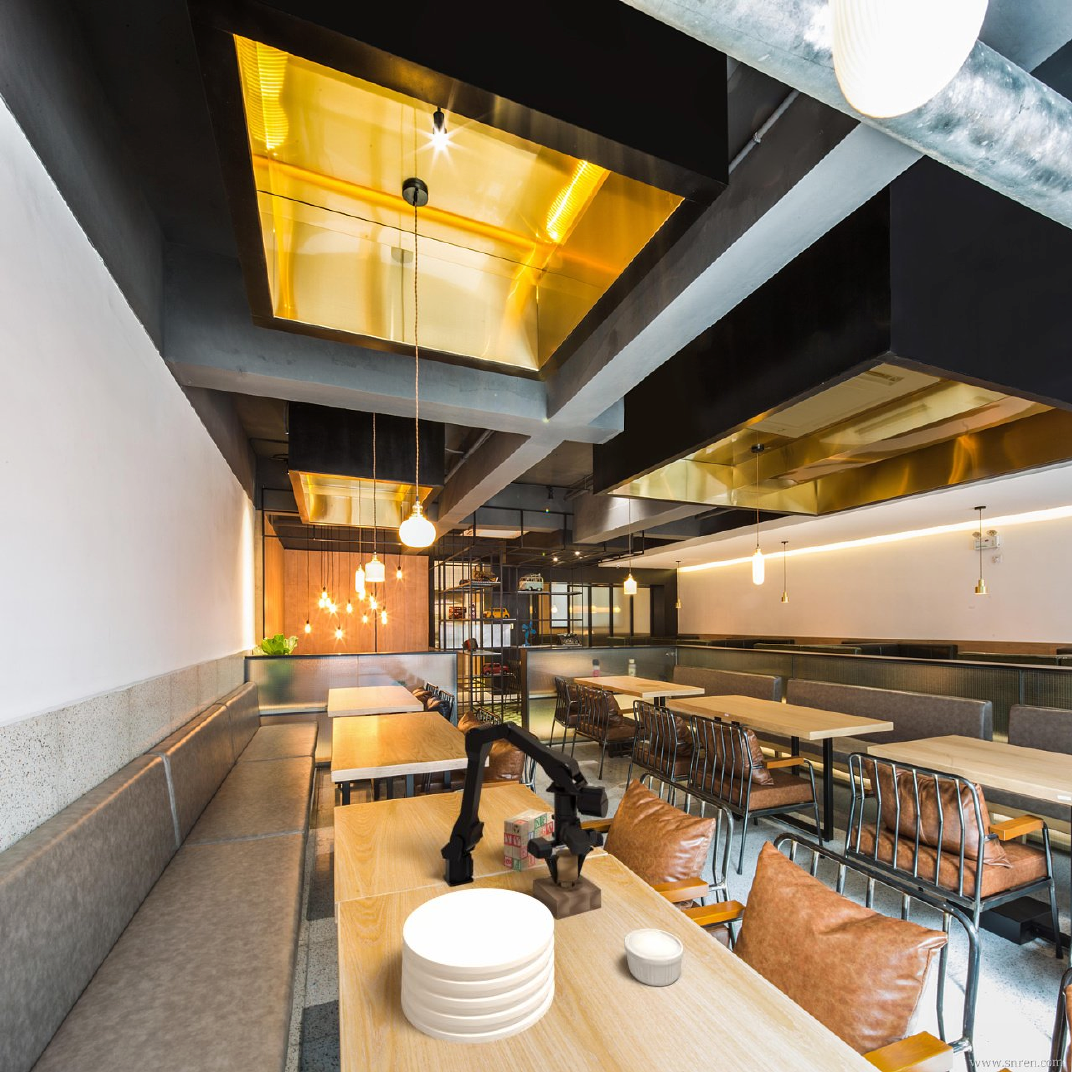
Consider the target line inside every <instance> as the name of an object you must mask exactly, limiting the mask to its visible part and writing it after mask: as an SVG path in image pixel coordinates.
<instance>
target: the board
mask: <svg viewBox="0 0 1072 1072" xmlns="http://www.w3.org/2000/svg"><path fill="white" fill-rule="evenodd" d="M532 895H533V896H532V897H533V898H535V899H536V900H538V901H540V902H541V903H542V904H544V905H545V906H546V907H547V908H548V909H549V911H550V912H551V914H552V916H553V918H555V919H556V920H560V919H565V918H567V917H572V916H574V915H579V914H582V913H587V912H591V911H593V910H597V909H601V908H602V889H601V888H600V887H599V886H597V885H595V884H594V883H593V882H591V881H590V879H588V878H586V877H585V876H584V875H582V874H581V873H580V876H579V878H578V880H577V881H575V882H572V888H561V882H558V881H557V883H554V881H553V879H552V876H551V875H548V876H545V877H540V878H536V879H533V881H532Z"/></svg>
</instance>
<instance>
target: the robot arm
mask: <svg viewBox="0 0 1072 1072" xmlns="http://www.w3.org/2000/svg"><path fill="white" fill-rule="evenodd" d="M503 739H504V740H506V741H507V742H508V743H510V744H511V745H512V746H513V747H515V748H517V750H519V751H521V752H522V753H523V754H524V755H526V756H528V757H529V758H530V759H532V761H534V762H536V763H537V764H538V765H539V766H540V767H541V768H542V770H543V771H544V773H545V775H546V776H547V777H548V778H549V779H550V780H552V782H551V784H550V785H549V786H548V787H547V788H545V792H546V793H552V794H553V813H554V814H552V819H553V820H554V832H552V837H553V838H554V840H551V841H547V840H546V839H544V838H543V837H539V838H533V839H530V840H529V842H528V844H527V851H528V852H529V853H530V854H531V855H533V856H534V857H535V858H536V859H543V858H544V859H543V860H544V861H545V863H546V865H547V868H548V871H549V874H550V876H552V879H553V881H554V883H557V878H558V875H557V861H558V859H559V856H558V855H556V849H557V848H562V847H564V848H567V849H569V850H570V853H571V854H572V855H574V856H578V878H579V876H580V874H581V872H582V868H583V866H584V862H585V861H586V858H587V856H588V855H589V854H590V853H591V852H593V851H594V849H595V848H600V847H603V846H604V844H605V843H604V841H605V840H604V835H603V834H602V832H600V831H598V830H597V829H595V828H594V827H585V828H583V827H582V823H581V822H582V821H581V818H580V817H578V813H579V814H580V815H581V816H587V817H593V818H601V819H605V818H606V817H607V814H608V811H609V798H608V794H607V792H606V787H605V786H601V785H600V786H593V785H589V782H588V780H587V778H586V777H585V775H583V773H582V771H581V770H580V765H579V761H578V760H577V759H576V758H574V757H573V756H570V755H568V754H567V753H564V752H560V751H557V750H554V749H552V748H550V747H548V745H546V744H544V743H543V742H541V741H540V740H538V739H537V738H536V737H534V736H533V735H532V734H530V733H529V732H527V731H525V730H524V729H523V728H521V727H520V726H519V725H517V724H516V722H514V721H513V720H508V721H504V722H501V723H498V724H494V725H489V724H488V723H483V724H480V725H477V726H474V727H471V728H469V729H468V730H467V731H466V732H465V736H464V751H465V753H466V754H465V755H466V758H467V764H466V771H465V775H464V784H463V791H462V798H461V804H460V810H459V811H460V812H459V815H458V817H457V819H456V821H455V822H454V824H453V825H452V826H453V827H452V830H451V834H450V835H449V841H448V842H447V843H446V844H445V845H444V846H443V847H442V848H441V849H440V853H441V858H442V859H443V860H445V867H444V868H445V869H444V870H445V871H444V872H445V873H444V874H442V878H443V879H444V880H445V882H447V884H448V885H449V886H450V887H453V886H458V885H463V884H467V883H472V882H474V881H475V879H474V877H473V876H474V859H473V857H472V856H473V854H472V853H471V852H472V851H474V850H476V849H475V848H476V846H477V844H479V843H480V841H481V840H482V838H483V837H484V827H485V822H484V821H481V820H480V818H479V811H480V810H479V809H480V801H481V796H482V795H481V794H482V789H483V788H482V787H483V781H484V775H485V768H486V762H487V759H488V757H489V755H490V753H491V751H492V749H493V746H494V743H495V741H499V740H503ZM574 781H575V782H574ZM559 843H560V844H559Z"/></svg>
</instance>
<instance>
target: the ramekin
mask: <svg viewBox="0 0 1072 1072" xmlns="http://www.w3.org/2000/svg"><path fill="white" fill-rule="evenodd" d="M623 945H624V950H625V955H626V958H627V964H628V970H629V971H630V973H631V974H632V976H633V977H634V978H635V979H636V980H638V981H639V982H640V983H643V984H645V985H648V986H652V987H666V986H669V985H673V983H675V982H676V981H677V980H678V978H679V977H680V975H681V974H680V973H681V967H682V960H683V956H684V953H685V952H684V951H685V950H684V945H683V942H681V940H680V939H679V938H678V937H676V935H673V934H672V933H670V932H667V931H664V930H661V929H657V928H640V929H636V930H632V931H631V932H629V933H628V934H627V935H626V936H625V938H624V940H623Z"/></svg>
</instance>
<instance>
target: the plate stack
mask: <svg viewBox="0 0 1072 1072" xmlns="http://www.w3.org/2000/svg"><path fill="white" fill-rule="evenodd" d="M554 933H555V920H554V916H553V915H552V914H551V912H550V911H549V909H548V908H547V907H546V906H545V905H544V904H542V903H541V902H540V901H538V900H536V899H535V898H533V896H530V895H528V894H525V893H522V892H518V891H515V890H509V889H503V888H489V887H487V888H485V887H484V888H471V889H463V890H457V891H453V892H448V893H446V894H442V895H440V896H437V897H434V898H432V899H430V900H428V901H425V902H424V903H423V904H421V905H420V906H418V907H417V908H416V909H414V910H413V911H412V912H411V913H410V914H409V915H408V917H407V919H406V920H405V922H404V925H403V928H402V947H401V948H402V949H401V950H402V952H401V953H402V956H401V957H402V959H401V960H402V961H401V992H400V1006H401V1009H402V1012H403V1014H404V1016H405V1018H406V1017H407V1018H406V1019H407V1020H408V1021H410V1022H411V1023H410V1022H409V1023H410V1024H411V1025H412V1026H413V1027H414V1028H416V1029H417V1030H418V1031H420V1032H422V1033H423V1034H425V1035H427V1036H429V1037H432V1038H434V1039H438V1040H441V1041H444V1042H448V1043H454V1044H455V1043H456V1044H468V1045H469V1044H482V1043H483V1044H485V1043H491V1042H496V1041H500V1040H504V1039H508V1038H511V1037H513V1036H516V1035H518V1034H520V1033H522V1032H523V1031H525V1030H527V1029H529V1028H531V1027H533V1026H534V1025H535V1024H536V1023H537V1022H539V1021H540V1020H541V1019H542V1018H543V1017H544V1016H545V1014H546V1013H547V1012H548V1011H549V1010H550V1007H551V1005H552V1003H553V1000H554V997H555V935H554Z"/></svg>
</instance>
